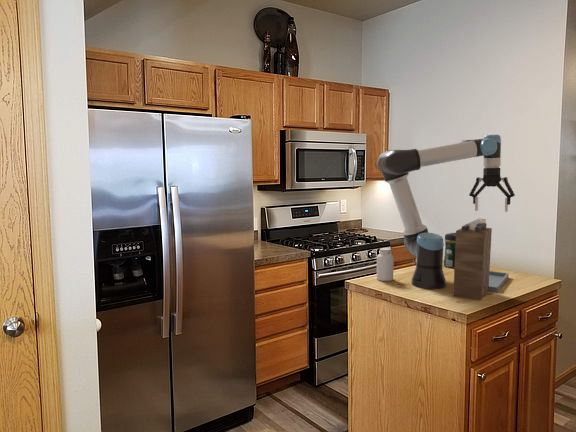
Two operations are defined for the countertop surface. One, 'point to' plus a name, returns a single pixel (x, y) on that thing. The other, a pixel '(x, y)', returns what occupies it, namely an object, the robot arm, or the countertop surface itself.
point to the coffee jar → (450, 250)
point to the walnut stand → (472, 262)
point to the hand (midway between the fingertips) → (491, 211)
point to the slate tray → (496, 280)
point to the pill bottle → (385, 265)
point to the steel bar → (476, 224)
